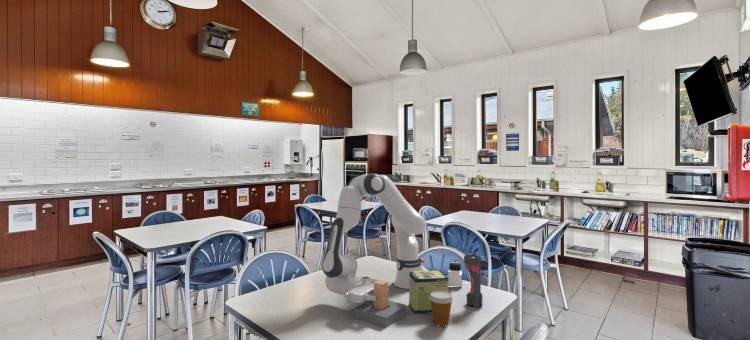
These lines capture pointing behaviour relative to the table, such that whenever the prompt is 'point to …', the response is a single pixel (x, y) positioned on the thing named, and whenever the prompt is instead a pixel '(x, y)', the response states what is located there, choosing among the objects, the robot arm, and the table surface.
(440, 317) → the disposable coffee cup
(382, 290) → the plug block
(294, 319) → the table surface
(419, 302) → the protein box
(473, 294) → the flashlight
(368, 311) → the socket block
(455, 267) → the medicine bottle
